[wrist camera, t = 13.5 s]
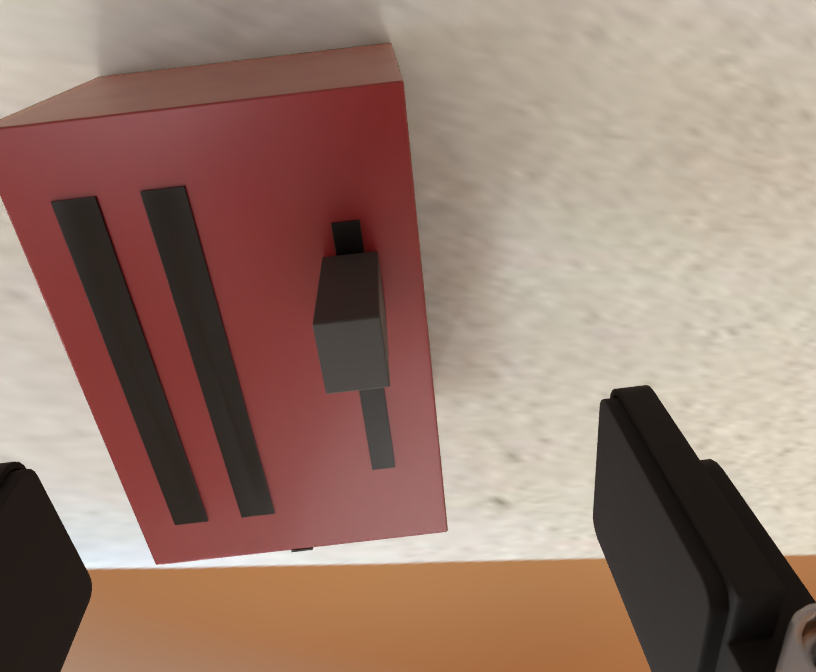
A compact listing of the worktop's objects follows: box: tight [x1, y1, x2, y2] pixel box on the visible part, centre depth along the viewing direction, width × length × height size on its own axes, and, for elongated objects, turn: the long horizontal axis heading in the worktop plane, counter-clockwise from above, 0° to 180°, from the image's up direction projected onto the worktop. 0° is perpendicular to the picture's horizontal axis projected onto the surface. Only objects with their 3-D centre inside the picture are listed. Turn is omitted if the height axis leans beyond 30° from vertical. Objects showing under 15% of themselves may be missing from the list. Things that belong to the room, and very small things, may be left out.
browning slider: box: [312, 251, 390, 394], centre depth 17 cm, size 2×2×4 cm
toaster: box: [0, 43, 448, 565], centre depth 24 cm, size 16×11×9 cm
